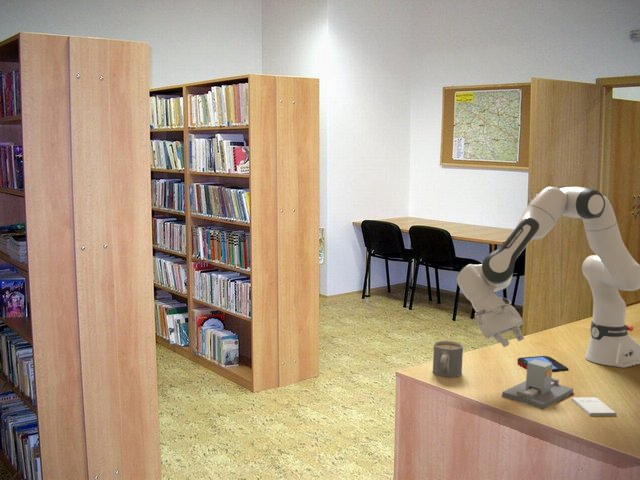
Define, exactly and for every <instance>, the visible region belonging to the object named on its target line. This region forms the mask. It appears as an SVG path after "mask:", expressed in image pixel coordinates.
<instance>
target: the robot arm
mask: <svg viewBox="0 0 640 480" xmlns="http://www.w3.org/2000/svg"><path fill="white" fill-rule="evenodd" d="M562 216H563V217H566V218H571V219H582V222H583V227H584V231H585V236H586V239H587V242H588V247H589V248H590V249H591V251H592V252H593V253H594V254H591V255H589V256H587V257H586V258H585V259H584V261H583V262H582V265H581V271H582V274H583V276H584V278H585V279H586V280H587V282H588V285H589V286H590V287H589V288H590V290H591V291H590V292H591V294H592V300H593V309H592V311H593V312H592V320H591V322H590V323H591V325H590V337H589V341H588V346H587V349H586V353H585V356H584V358H585V359H586V360H587V361H589V362H591V363H595V364H598V365H603V366H604V365H605V366H611V367H617V368H624V369H625V368H628V367H633V366H637V365H640V343H639V342H638V341H636V340H635V339H634V338H633V337H631V335H629V333H628V331H629V332H633V331H634V329H635V327H634V326H633V325H630V324H627V325H626V314H627V304H626V302H625V300H624V298H622V297H621V296H622V295H621V294H620V293H619V292H620V291H628V292H629V291H630V292H634V291H638V290H639V289H640V264H639V263H638V262H637V261H636V260H635V259H634V258H633V256H632V255H631V254H630V252H629V250H628V248H627V247H626V245H625V243H624V241H623V238H622V235H621V232H620V228H619V225H618V221H617V217H616V213H615V211H614V208H613V206H612V204H611V202H610V199H608V197H607V196H606V195H603V194H602V193H601V191H599V190H597V189H594V188H590V187H583V186H566V185H565V186H563V185H562V186H558V187H556V186H547V187H544V188H543V189H542V190H541V191H540V192H539V193H537V195H536V196H535V197H534V198H533V199H532V200H531V201H530V203H529V204H528V205H527V207H526V208H525V209H524V211H523V212H522V214H521V216H520V218H519V220H518V222H517V224H516V227H515V228H514V230H513V231H512V232H511V234H510V235H509V236H508V237H507V238H506V240H505V241H504V243H503V244H502V245H501V246H500V247H498V248H497V249H496V250H494V251H492V252H490V253H489V254H488V255H486V256H485V258H483V261H482V263H481V264H480V263H479V264H473V263H469V264H467V265H464V267H463V268H461V269H460V271H459V272H458V274H457V276H456V282H457V285H458V287H459V289H460V290H461V293H463V295H464V297H465V298H466V300H468V301H470V303H471V306H472V308H473V309H474V311H475V313H474V318H475V321H476V324H477V326H478V328H479V331H480V332H481V333H482V335H483V337H485V338H486V339H491V338H494V339H495V341H496V342H498V343H500V344H501V345H502V347H503V348H505V347H507V346H509V345H510V342H509V340H508V339H507V338H504V337H503V336H502V335H503V334H505V333H509V332H510V331H512V333H514V334H515V338H516V339H517V341H518V342H520V341H523V340H524V339H525V336H524V335H523V334H522V331H521V328H520V327H521V326H522V325H523V324H524V321H523V318H522V317H521V315H520V313H519V312H518V311H517V309H516V308H515V307H514V306H513V305H512V301H511V300H510V299H509V298H506V297H501V296H499V295H497V292H499V291H501V290H505V289H506V288H508V287H509V286H510V284H511V283H512V280H513V274H514V270H515V265H516V264H515V263H516V261H517V259H518V257H519V256H520V255H521V254H522V252H523V251H524V250H525V249H526V247H527V246H528V245H529V243H531V242H532V241H533V240H541V239H543V238H544V237H545V236H546V235H548V234H549V232H551V230H552V229H553V228H554V226H555V225H556V224H557V222H558V220H559V219H560V217H562ZM636 364H637V365H636ZM632 365H633V366H632Z"/></svg>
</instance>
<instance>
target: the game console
mask: <svg viewBox="0 0 640 480" xmlns="http://www.w3.org/2000/svg"><path fill="white" fill-rule="evenodd" d="M534 359H536V360H540V361H544V362H548V363H552V373H557V372H558V373H559V372H567V371H569V367H567V366H565V365H564V364H562V363H561V362H559V361H557V359H555V358H552V357H551V356H548V355H537V356H536V355H535V356H527V357H518V358H517V359H516V360H517V365H519V366H521V367H523V368H525V369H526V370H527V363H528V362H530V361H532V360H534Z"/></svg>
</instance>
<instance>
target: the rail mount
mask: <svg viewBox="0 0 640 480" xmlns="http://www.w3.org/2000/svg"><path fill="white" fill-rule="evenodd" d="M573 392H574V388H572V387H569V386H566V385H562V384H560V379H558V378H555V377H552V378H551V391H549V392H547V393H545V394H540V389H538V388H535V387H533V388H531V389H529V390H526V380H525V381H523V382H520V383H518V384H516V385H514V386H512V387H510V388H507V389H506V390H503V391H502V393H501V396H502V397H504V398H506V399H510V400H513V401H516V402H519V403H522V404H526V405H528V406H532V407H535V408H538V409H542V410H544V409H546V408H548V407H550V406H552V405H554V404H555V403H557V402H559V401H561V400H563V399H564V398H566V397H568V396H570V395H571V394H573Z"/></svg>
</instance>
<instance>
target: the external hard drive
mask: <svg viewBox="0 0 640 480" xmlns="http://www.w3.org/2000/svg"><path fill="white" fill-rule="evenodd" d="M571 401H572V402H573V403H574V404H575V405H576V406H578V407H579V408H580V409H581V410H582V411H583V412H584V413H586V414H587V415H588V416H589V417H611V416H612V417H616V416H617V412H616V411H615V410H613V409H612V408H611V407H609V406H608V405H607V404H605V403H604V402H603V401H602V400H600V399H599V398H598V397H597V396H596V397H595V396H593V397H591V396H590V397H588V396H587V397H586V396H585V397H579V396H578V397H576V396H575V397H571Z"/></svg>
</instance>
